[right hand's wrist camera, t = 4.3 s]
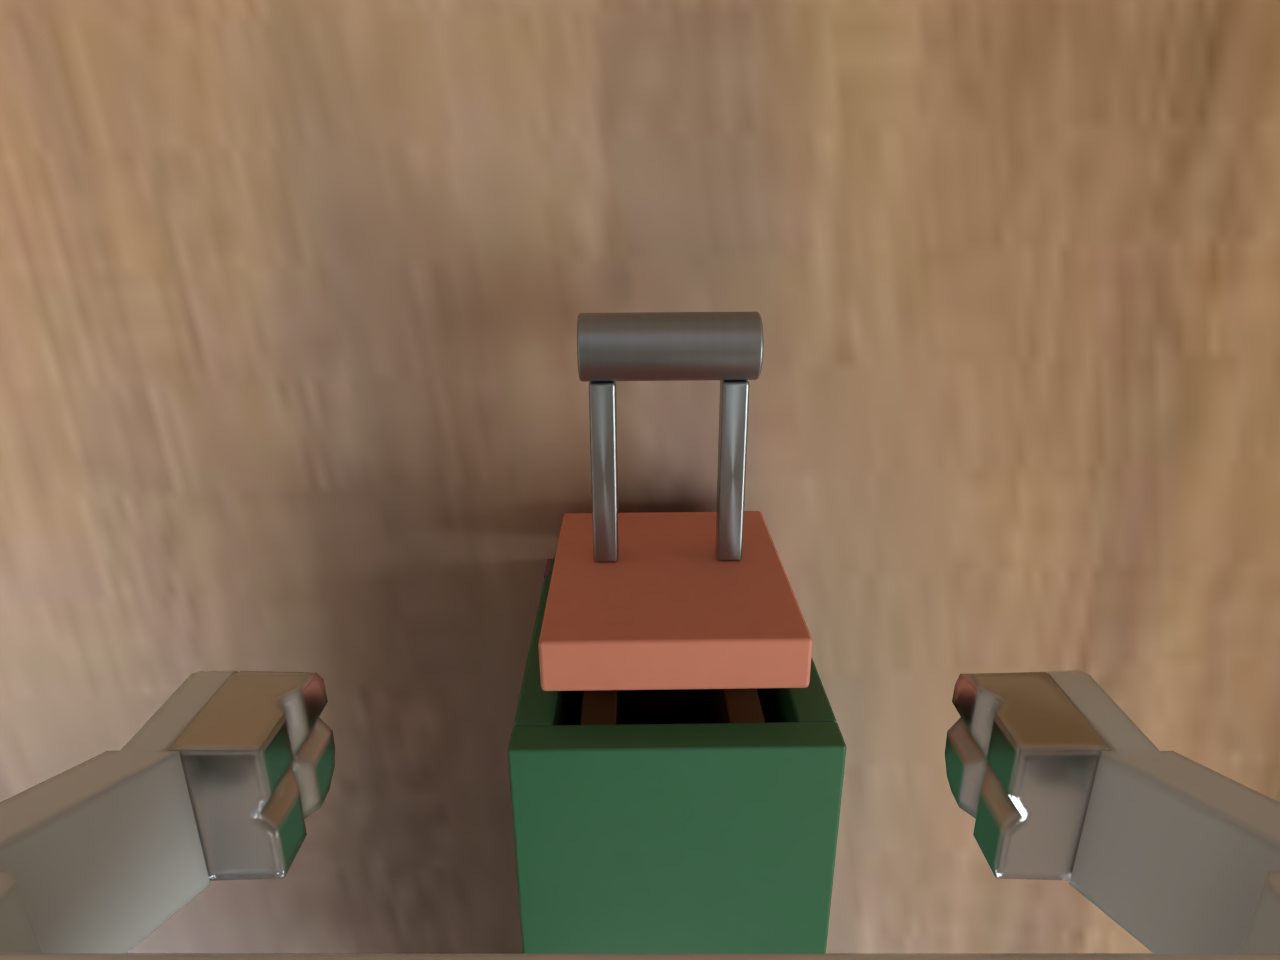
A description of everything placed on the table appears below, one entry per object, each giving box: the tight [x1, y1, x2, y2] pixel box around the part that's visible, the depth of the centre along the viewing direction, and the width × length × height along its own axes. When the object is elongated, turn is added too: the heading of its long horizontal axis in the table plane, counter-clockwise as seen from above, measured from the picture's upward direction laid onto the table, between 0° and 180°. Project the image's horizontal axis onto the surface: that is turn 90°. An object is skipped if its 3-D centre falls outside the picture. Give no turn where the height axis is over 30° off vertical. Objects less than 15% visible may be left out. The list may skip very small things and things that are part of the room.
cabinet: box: [508, 559, 846, 954], centre depth 23 cm, size 19×7×9 cm, turn 0°
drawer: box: [538, 312, 813, 725], centre depth 22 cm, size 24×6×7 cm, turn 0°
